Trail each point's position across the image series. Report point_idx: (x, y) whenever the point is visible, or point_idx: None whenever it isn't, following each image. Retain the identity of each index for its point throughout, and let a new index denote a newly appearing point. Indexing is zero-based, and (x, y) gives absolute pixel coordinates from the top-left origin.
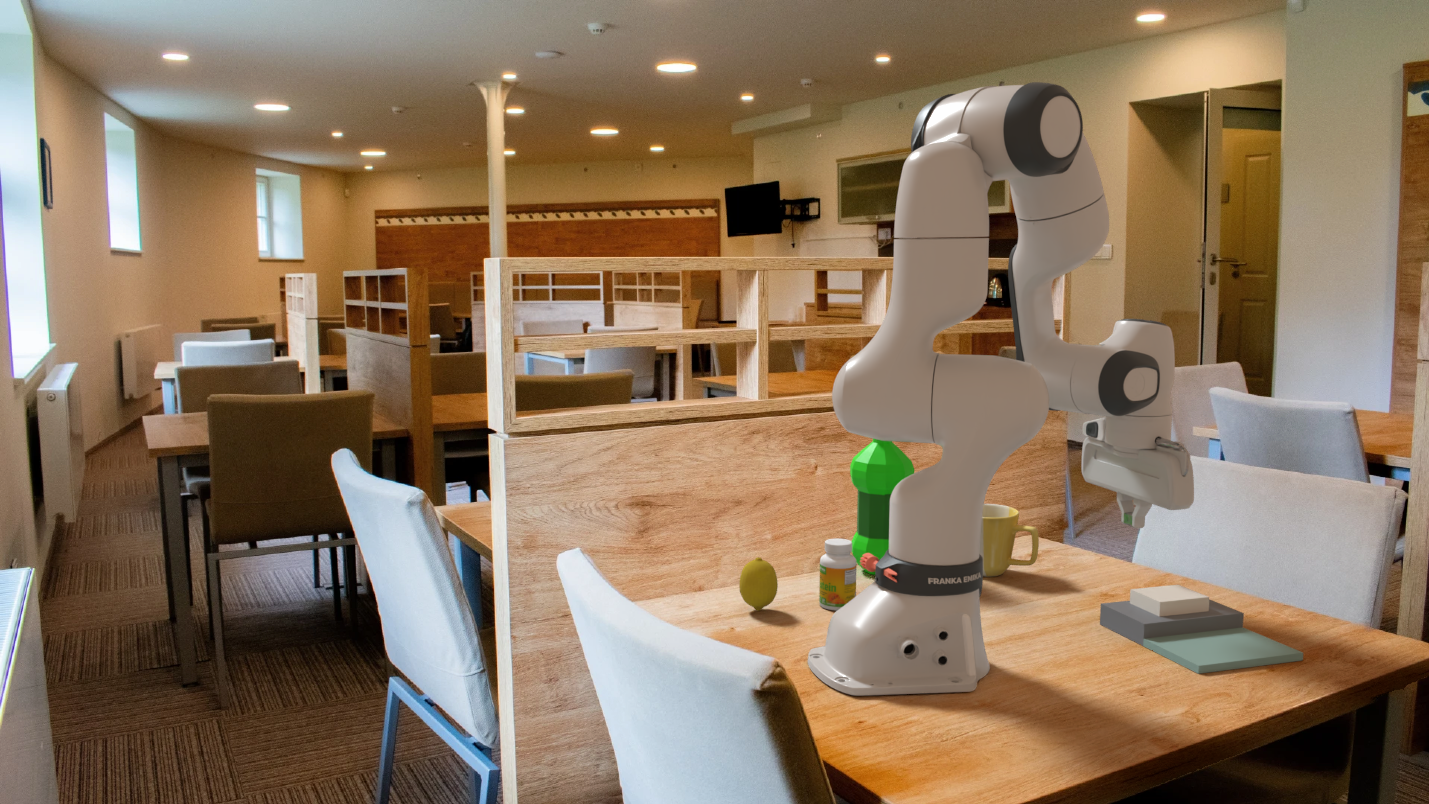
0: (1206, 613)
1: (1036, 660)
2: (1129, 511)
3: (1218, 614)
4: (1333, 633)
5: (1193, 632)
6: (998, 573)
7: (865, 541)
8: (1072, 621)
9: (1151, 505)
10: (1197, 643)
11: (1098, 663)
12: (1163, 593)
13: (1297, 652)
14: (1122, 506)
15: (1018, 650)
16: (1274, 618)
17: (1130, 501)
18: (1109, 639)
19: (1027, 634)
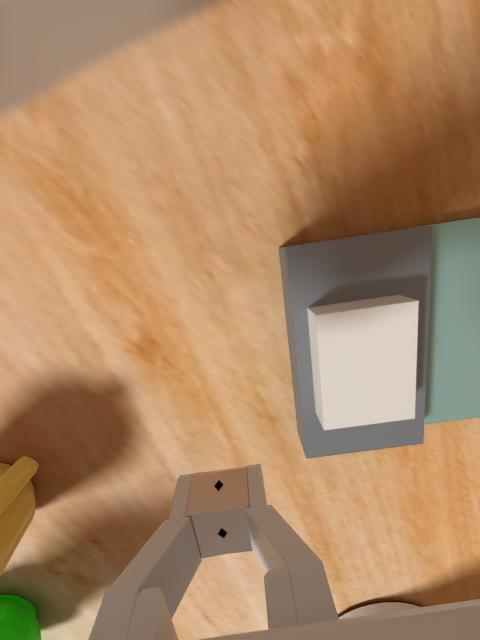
0: None
1: (402, 553)
2: (195, 543)
3: (422, 287)
4: (457, 3)
5: None
6: (30, 483)
7: None
8: (276, 461)
9: (321, 566)
10: (453, 360)
11: (435, 498)
12: (367, 383)
13: None
14: (181, 595)
15: (366, 559)
16: (336, 79)
17: (153, 584)
18: None
19: (315, 532)
